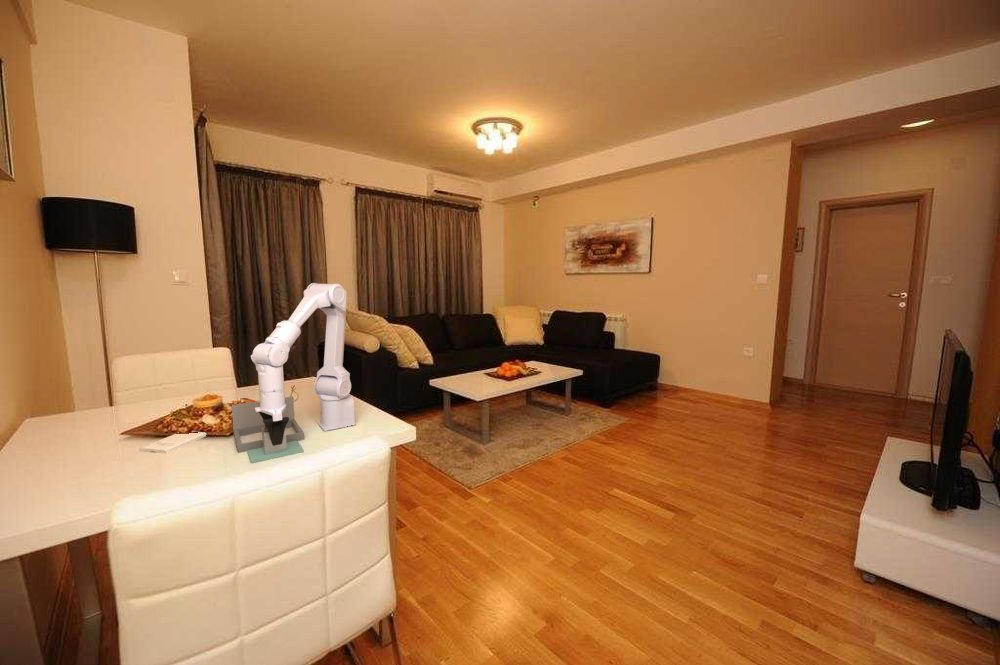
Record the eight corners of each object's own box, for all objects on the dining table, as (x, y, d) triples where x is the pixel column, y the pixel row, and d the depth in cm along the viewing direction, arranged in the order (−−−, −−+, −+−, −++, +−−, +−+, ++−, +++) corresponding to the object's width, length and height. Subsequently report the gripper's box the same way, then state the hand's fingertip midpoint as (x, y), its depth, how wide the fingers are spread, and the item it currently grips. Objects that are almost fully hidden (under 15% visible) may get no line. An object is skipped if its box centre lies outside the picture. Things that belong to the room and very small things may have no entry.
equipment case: (294, 424, 129) (292, 396, 128) (304, 439, 117) (302, 408, 116) (233, 435, 120) (231, 405, 119) (238, 452, 108) (235, 419, 107)
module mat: (297, 442, 115) (297, 440, 115) (303, 451, 109) (303, 450, 109) (247, 452, 108) (247, 450, 108) (250, 463, 102) (250, 461, 102)
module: (284, 445, 112) (283, 424, 111) (286, 450, 108) (285, 428, 108) (263, 450, 109) (261, 428, 108) (265, 455, 105) (263, 432, 105)
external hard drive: (206, 437, 119) (166, 455, 107) (182, 435, 121) (139, 453, 108) (206, 432, 119) (165, 449, 107) (181, 430, 120) (138, 447, 108)
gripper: (250, 385, 110) (254, 434, 112) (257, 398, 98) (261, 452, 100) (280, 381, 114) (283, 429, 116) (290, 394, 102) (293, 446, 104)
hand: (274, 439), depth 108 cm, fingers open, 7 cm apart
